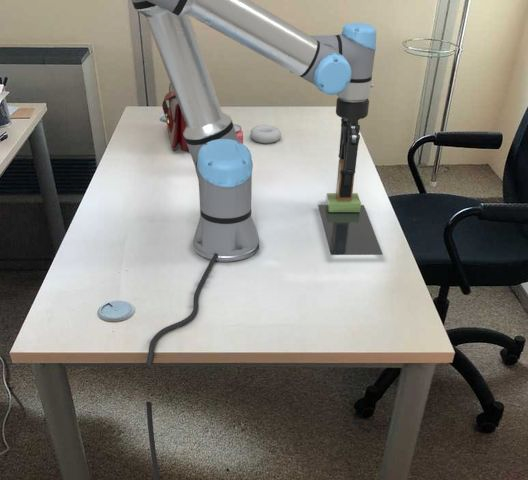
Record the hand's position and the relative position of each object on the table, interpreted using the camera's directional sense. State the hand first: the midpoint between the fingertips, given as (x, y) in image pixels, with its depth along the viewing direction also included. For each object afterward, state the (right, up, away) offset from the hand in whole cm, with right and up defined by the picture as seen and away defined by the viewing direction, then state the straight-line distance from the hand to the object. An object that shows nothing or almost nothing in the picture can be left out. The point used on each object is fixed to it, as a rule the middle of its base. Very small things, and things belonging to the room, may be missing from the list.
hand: (343, 192), depth 164 cm
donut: (-20, +28, +45) cm, 56 cm away
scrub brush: (0, -3, +2) cm, 4 cm away
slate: (0, -11, -6) cm, 13 cm away
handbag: (-46, +27, +43) cm, 69 cm away
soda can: (-30, +11, +23) cm, 39 cm away
